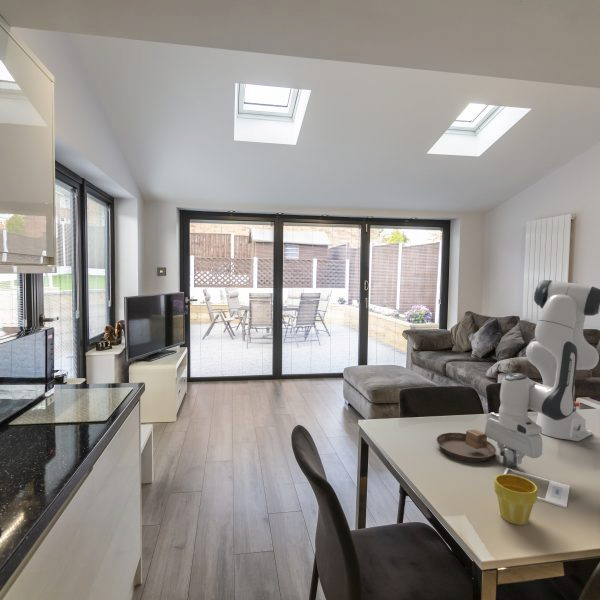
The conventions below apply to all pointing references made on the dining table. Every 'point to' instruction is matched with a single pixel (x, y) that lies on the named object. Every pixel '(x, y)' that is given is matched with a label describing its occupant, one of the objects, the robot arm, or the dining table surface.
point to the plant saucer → (464, 448)
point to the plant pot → (515, 497)
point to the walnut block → (476, 438)
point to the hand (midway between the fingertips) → (510, 459)
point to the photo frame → (551, 491)
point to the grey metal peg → (509, 457)
